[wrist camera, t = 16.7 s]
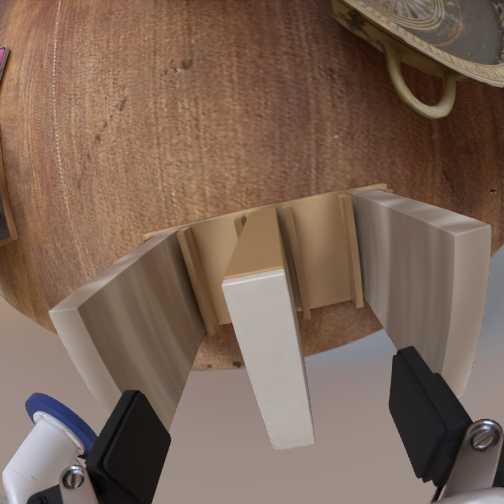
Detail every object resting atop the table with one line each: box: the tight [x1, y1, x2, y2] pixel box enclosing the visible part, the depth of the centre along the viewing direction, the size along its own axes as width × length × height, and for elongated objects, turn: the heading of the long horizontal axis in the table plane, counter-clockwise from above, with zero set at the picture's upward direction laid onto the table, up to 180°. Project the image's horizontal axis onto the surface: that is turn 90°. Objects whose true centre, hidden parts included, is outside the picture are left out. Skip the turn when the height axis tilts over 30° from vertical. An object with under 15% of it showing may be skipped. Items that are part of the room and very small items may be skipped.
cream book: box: [222, 207, 315, 450], centre depth 17 cm, size 2×9×14 cm, turn 13°
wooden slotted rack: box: [48, 183, 491, 431], centre depth 17 cm, size 21×9×15 cm, turn 103°
